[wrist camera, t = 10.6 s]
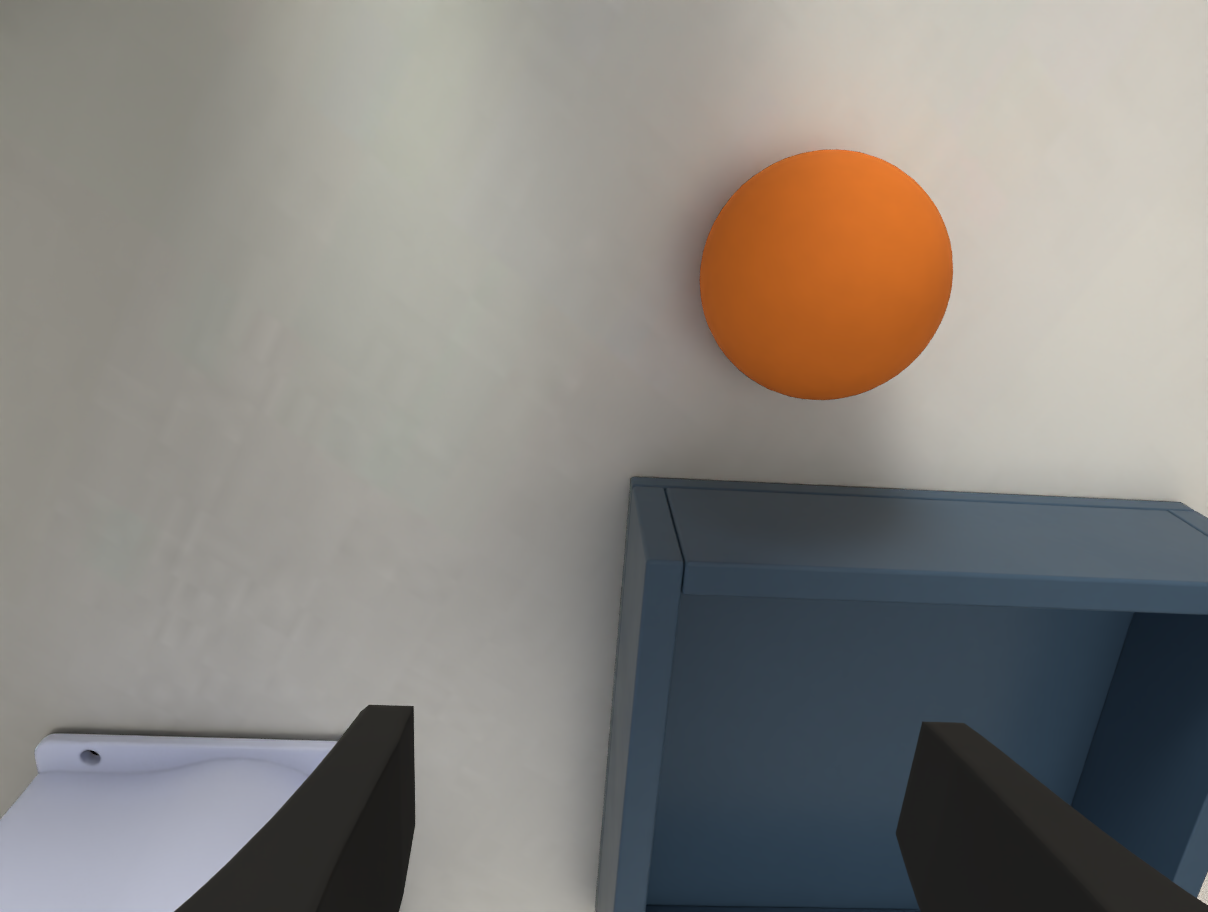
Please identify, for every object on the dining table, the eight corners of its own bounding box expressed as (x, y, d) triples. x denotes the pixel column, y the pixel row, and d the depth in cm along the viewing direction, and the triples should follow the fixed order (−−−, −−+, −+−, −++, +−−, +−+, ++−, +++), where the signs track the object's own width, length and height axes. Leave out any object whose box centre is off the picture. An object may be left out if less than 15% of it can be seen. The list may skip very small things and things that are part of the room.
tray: (595, 906, 27) (599, 1054, 22) (630, 475, 22) (645, 560, 17) (1044, 913, 28) (1132, 1057, 23) (1181, 501, 23) (1326, 588, 18)
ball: (656, 357, 20) (741, 443, 16) (680, 130, 18) (785, 158, 14) (845, 355, 21) (971, 434, 17) (887, 144, 19) (1043, 172, 15)
